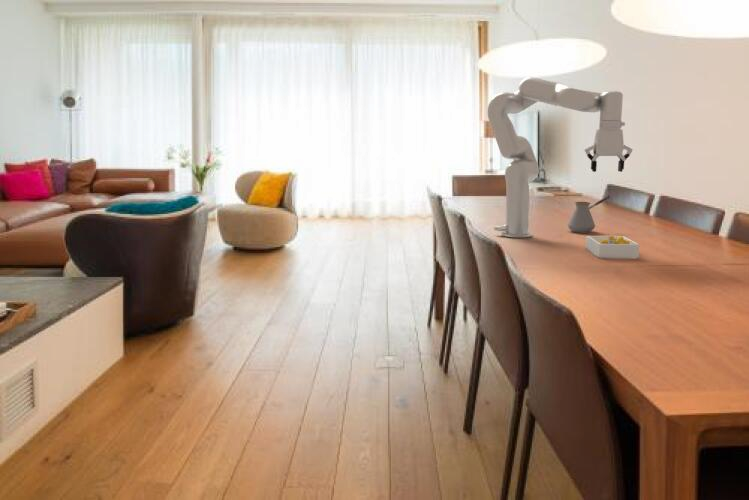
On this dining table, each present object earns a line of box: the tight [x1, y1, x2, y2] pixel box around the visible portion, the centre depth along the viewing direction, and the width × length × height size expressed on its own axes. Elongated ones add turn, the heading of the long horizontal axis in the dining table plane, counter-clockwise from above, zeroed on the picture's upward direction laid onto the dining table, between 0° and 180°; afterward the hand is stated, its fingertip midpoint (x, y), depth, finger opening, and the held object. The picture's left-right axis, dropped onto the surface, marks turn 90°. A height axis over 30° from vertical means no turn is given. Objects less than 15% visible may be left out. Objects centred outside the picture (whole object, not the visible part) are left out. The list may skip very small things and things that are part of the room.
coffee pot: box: [567, 195, 613, 234], centre depth 269 cm, size 21×12×15 cm, turn 113°
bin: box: [585, 235, 640, 260], centre depth 220 cm, size 13×17×5 cm
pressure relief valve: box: [599, 234, 630, 244], centre depth 215 cm, size 6×12×10 cm
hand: (607, 171), depth 232 cm, fingers open, 9 cm apart
